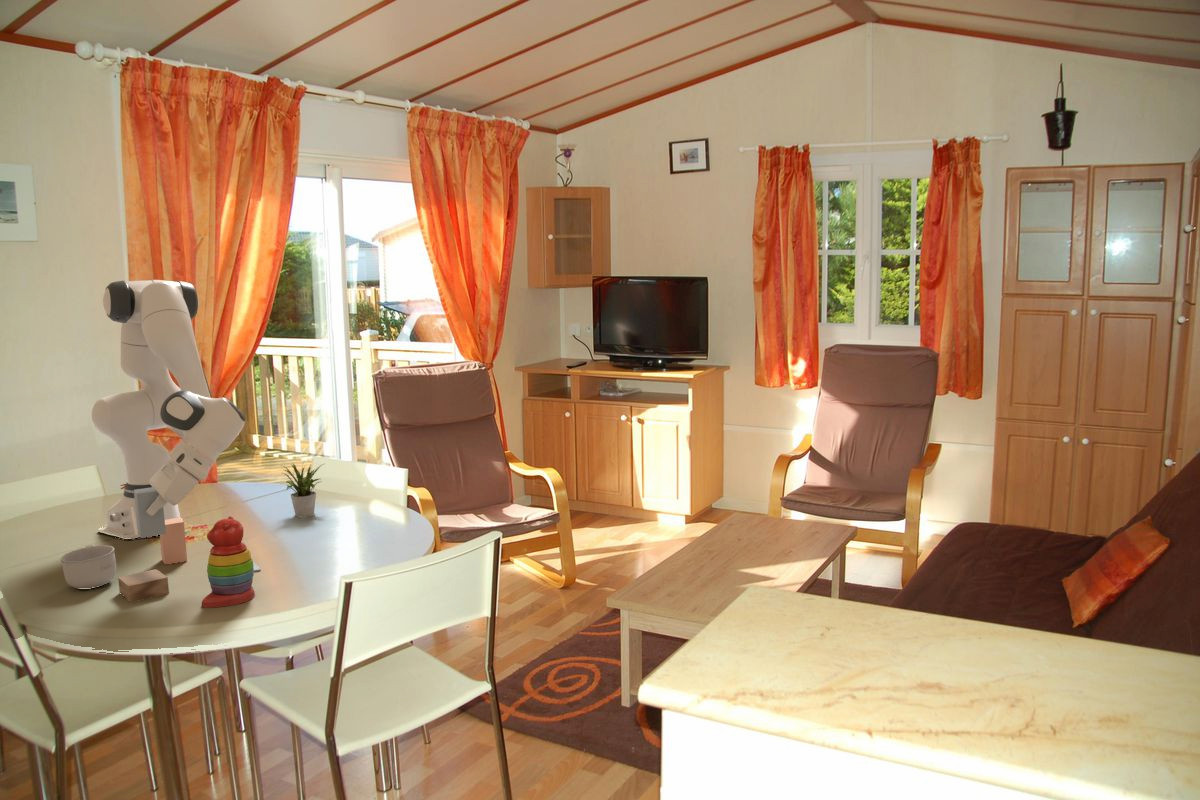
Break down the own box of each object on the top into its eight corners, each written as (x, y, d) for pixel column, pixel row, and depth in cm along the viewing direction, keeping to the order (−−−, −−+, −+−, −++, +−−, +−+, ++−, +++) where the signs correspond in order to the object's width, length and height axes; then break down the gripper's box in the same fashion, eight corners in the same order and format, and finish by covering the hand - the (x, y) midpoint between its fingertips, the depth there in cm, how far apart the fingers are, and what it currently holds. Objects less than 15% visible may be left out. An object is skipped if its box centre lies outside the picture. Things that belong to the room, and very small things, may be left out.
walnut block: (130, 603, 201) (128, 586, 201) (119, 594, 207) (118, 577, 206) (169, 594, 206) (167, 577, 206) (157, 585, 212) (156, 568, 212)
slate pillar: (141, 538, 205) (136, 494, 203) (138, 533, 209) (133, 489, 207) (166, 534, 207) (161, 490, 206) (162, 529, 212) (157, 486, 210)
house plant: (265, 521, 263) (261, 465, 261) (287, 508, 277) (283, 454, 274) (313, 522, 261) (309, 465, 259) (333, 509, 275) (329, 455, 273)
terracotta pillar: (165, 565, 226) (161, 525, 225) (161, 559, 230) (158, 520, 229) (187, 561, 229) (183, 521, 227) (183, 556, 233) (180, 517, 231)
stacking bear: (215, 590, 208) (208, 513, 205) (261, 588, 208) (256, 511, 206) (198, 608, 197) (191, 527, 194) (247, 606, 198) (241, 525, 195)
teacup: (112, 590, 209) (108, 556, 208) (58, 596, 206) (54, 561, 205) (124, 571, 222) (121, 539, 221) (74, 576, 219) (70, 543, 218)
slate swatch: (234, 575, 217) (234, 574, 217) (228, 568, 222) (228, 567, 222) (260, 570, 220) (260, 569, 220) (254, 564, 225) (254, 562, 225)
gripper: (169, 446, 218) (127, 494, 214) (186, 460, 201) (140, 511, 197) (191, 462, 221) (150, 509, 217) (209, 477, 204) (165, 528, 200)
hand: (146, 510), depth 207 cm, fingers closed on slate pillar, 5 cm apart
